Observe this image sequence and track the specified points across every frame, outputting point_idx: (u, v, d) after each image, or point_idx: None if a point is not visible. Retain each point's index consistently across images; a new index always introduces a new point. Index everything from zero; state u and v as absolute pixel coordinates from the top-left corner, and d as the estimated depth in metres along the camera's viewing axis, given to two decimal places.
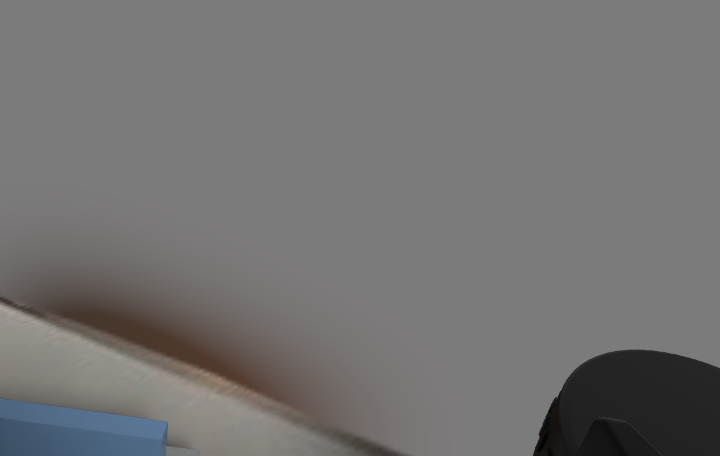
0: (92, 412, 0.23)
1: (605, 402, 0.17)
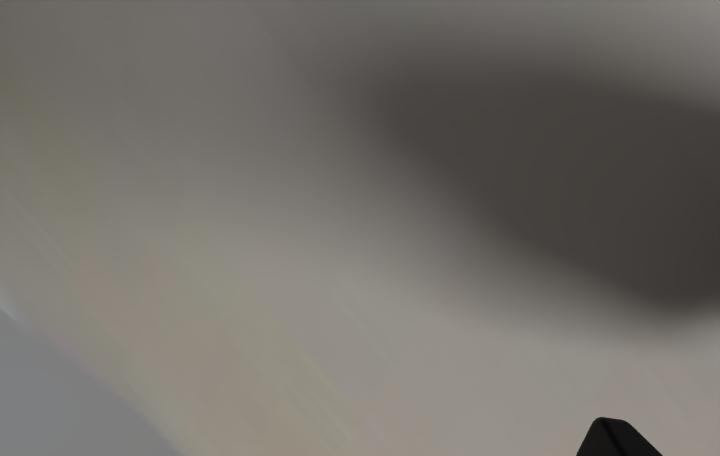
0: None
1: None
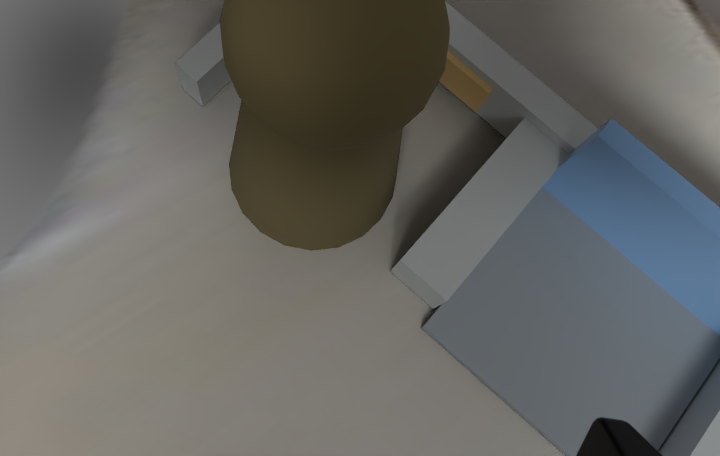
0: None
1: None
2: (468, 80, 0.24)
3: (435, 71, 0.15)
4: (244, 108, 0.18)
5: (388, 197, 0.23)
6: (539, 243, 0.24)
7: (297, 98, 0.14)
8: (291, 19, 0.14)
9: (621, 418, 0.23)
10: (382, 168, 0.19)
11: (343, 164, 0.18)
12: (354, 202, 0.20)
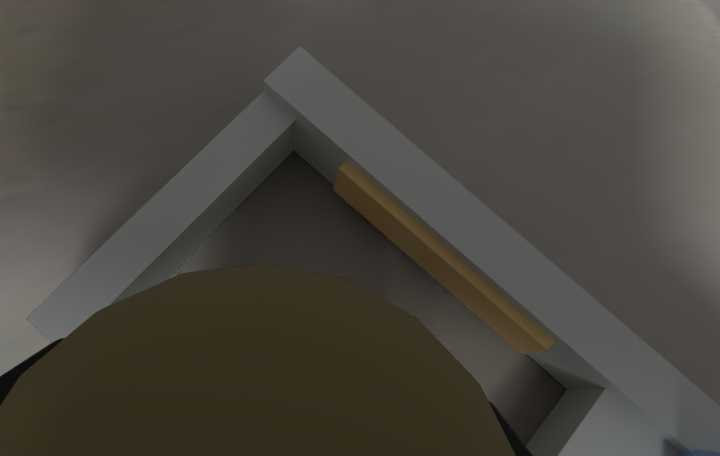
0: None
1: None
2: (513, 325, 0.15)
3: None
4: None
5: None
6: None
7: None
8: None
9: None
10: None
11: None
12: None
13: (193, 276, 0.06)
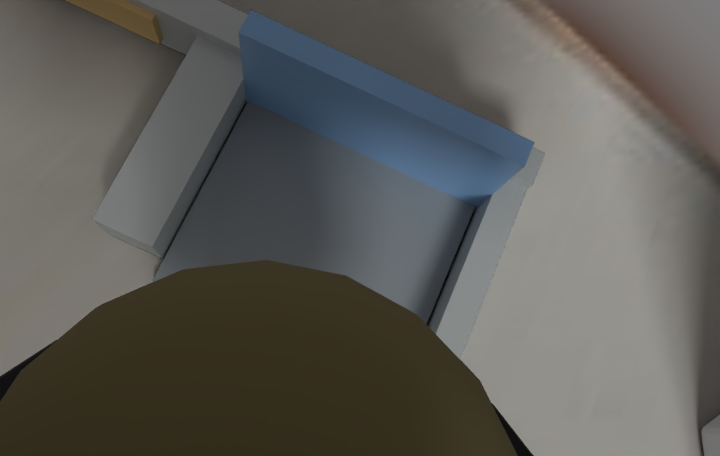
0: (455, 107, 0.19)
1: None
2: (129, 13, 0.22)
3: None
4: None
5: None
6: (258, 160, 0.23)
7: None
8: None
9: None
10: None
11: None
12: None
13: (194, 271, 0.06)
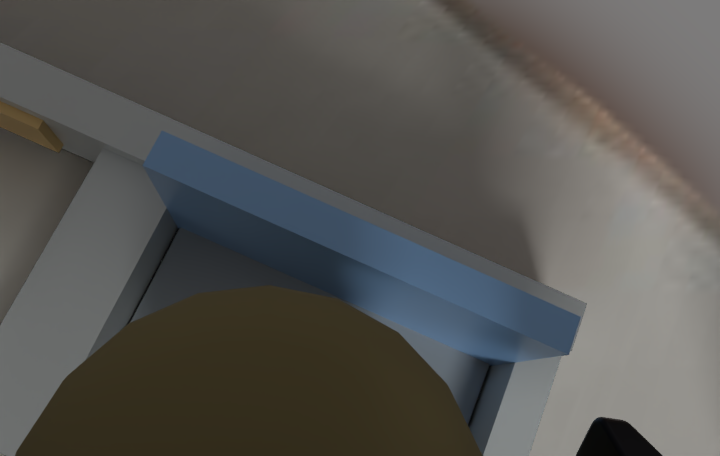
0: (463, 268, 0.13)
1: None
2: (8, 118, 0.16)
3: None
4: None
5: None
6: None
7: None
8: None
9: None
10: None
11: None
12: None
13: (208, 296, 0.07)
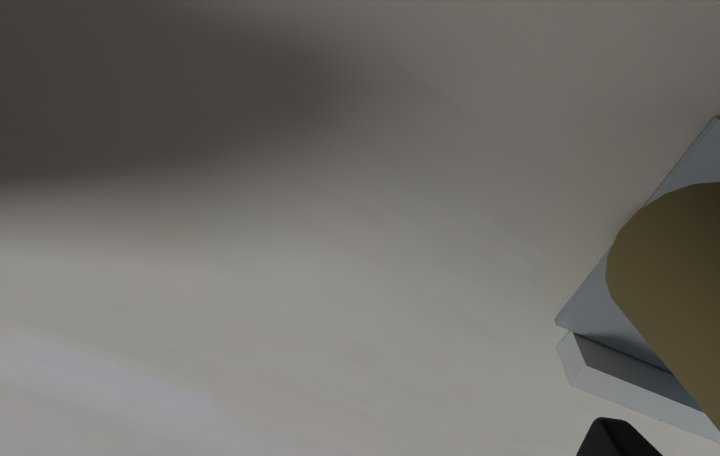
0: None
1: None
2: None
3: None
4: None
5: None
6: None
7: None
8: None
9: None
10: None
11: (713, 406, 0.18)
12: (659, 350, 0.21)
13: None
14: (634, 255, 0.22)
